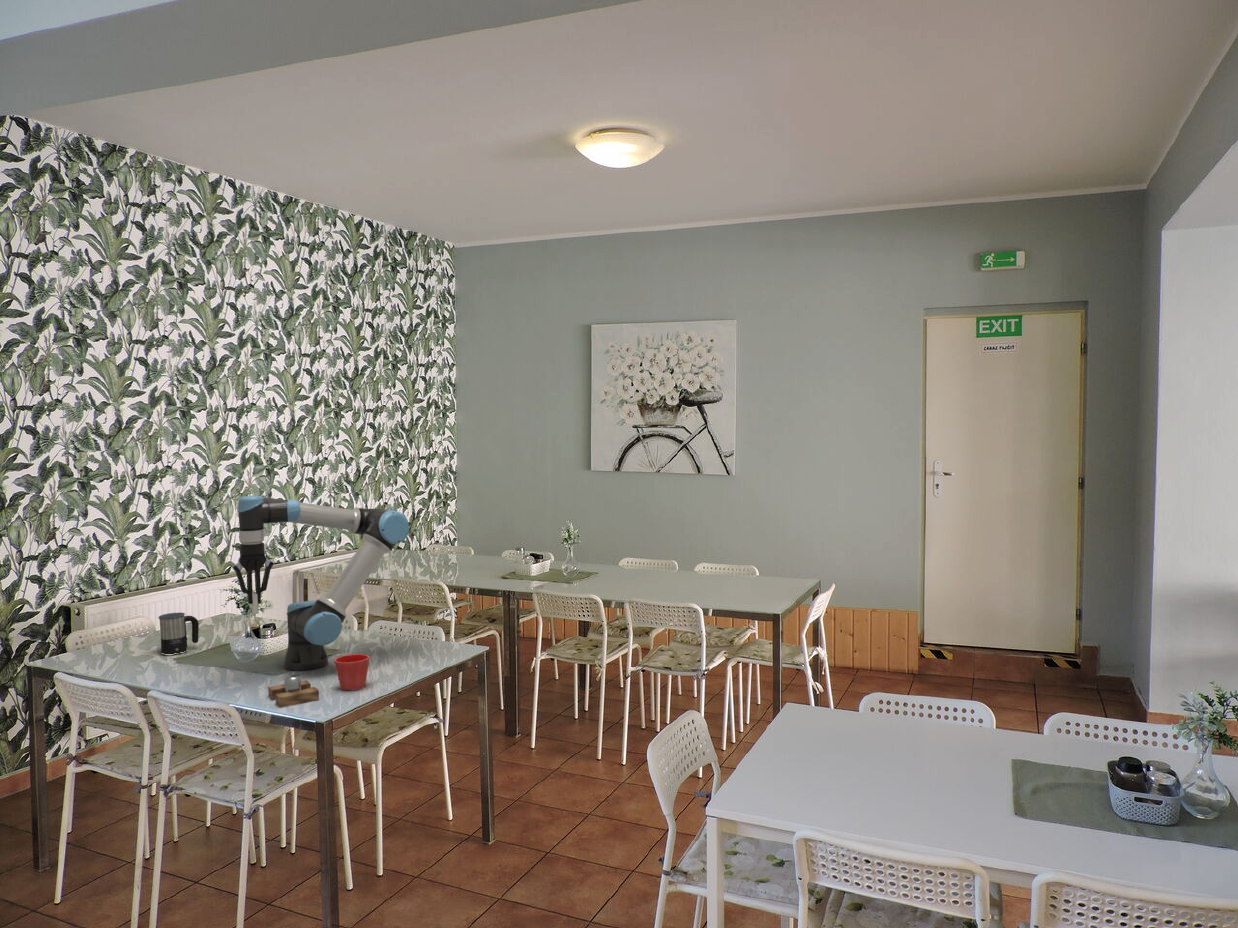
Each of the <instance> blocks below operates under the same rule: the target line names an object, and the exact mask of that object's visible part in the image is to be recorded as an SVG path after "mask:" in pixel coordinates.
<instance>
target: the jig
mask: <svg viewBox="0 0 1238 928" xmlns="http://www.w3.org/2000/svg"><path fill="white" fill-rule="evenodd" d="M311 684H312V683H311V682H310V681H308V680H307V679H305V680H301V690H300V691H295V692H289V693H285V689H284V683H283V684H278V685H277V684H276V685H272V686H271V685H270V686H268V687H267V691H268V697H269V699H270V700H272V701H274V700H275V704H276V705H277V707H279V708H284V707H289V706H296V705H300V704H305V703H306V704H307V703H312V702H315V701H319V700H320V691H319V689H317V687H315V686H313V687H312V685H311Z"/></svg>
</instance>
